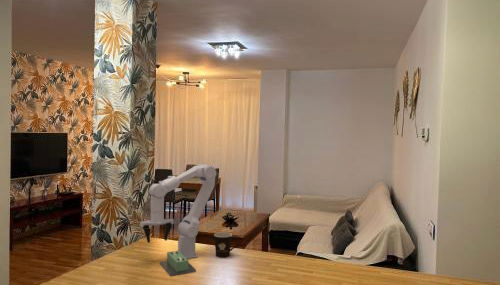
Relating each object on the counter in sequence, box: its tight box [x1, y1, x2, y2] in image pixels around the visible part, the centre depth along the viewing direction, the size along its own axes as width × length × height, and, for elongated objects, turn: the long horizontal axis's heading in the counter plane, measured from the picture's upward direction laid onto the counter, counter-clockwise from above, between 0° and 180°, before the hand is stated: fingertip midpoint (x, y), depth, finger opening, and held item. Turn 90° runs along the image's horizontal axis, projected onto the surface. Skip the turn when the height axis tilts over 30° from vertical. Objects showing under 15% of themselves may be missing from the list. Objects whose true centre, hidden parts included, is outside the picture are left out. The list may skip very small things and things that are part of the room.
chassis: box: [159, 250, 197, 277], centre depth 169 cm, size 16×11×6 cm
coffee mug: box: [213, 231, 241, 259], centre depth 185 cm, size 12×9×10 cm
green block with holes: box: [166, 250, 189, 272], centre depth 169 cm, size 14×5×4 cm, turn 28°
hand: (157, 241), depth 176 cm, fingers open, 7 cm apart
